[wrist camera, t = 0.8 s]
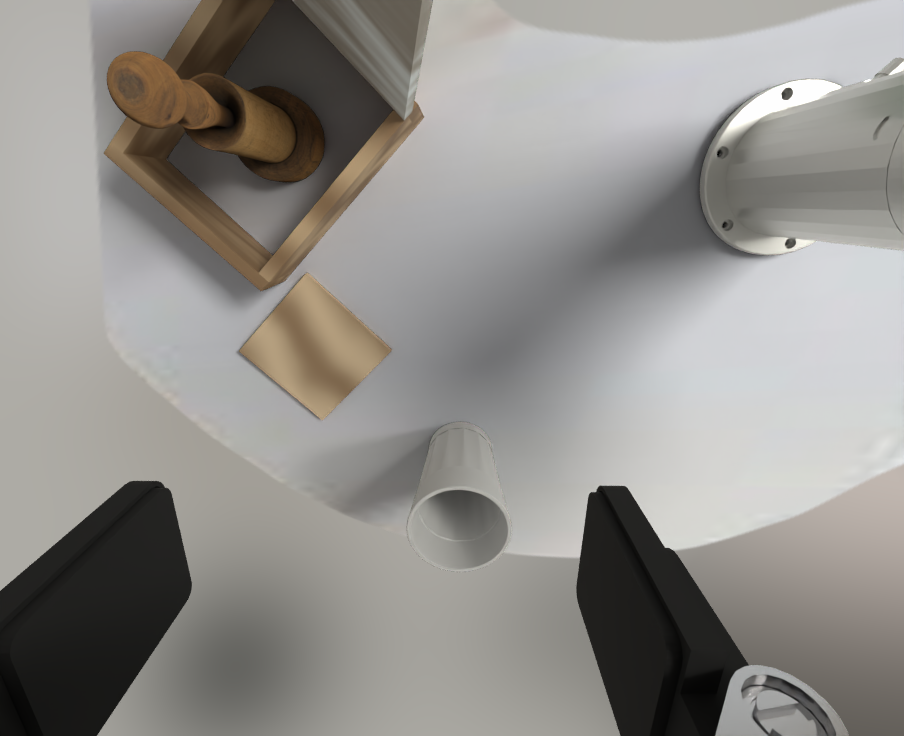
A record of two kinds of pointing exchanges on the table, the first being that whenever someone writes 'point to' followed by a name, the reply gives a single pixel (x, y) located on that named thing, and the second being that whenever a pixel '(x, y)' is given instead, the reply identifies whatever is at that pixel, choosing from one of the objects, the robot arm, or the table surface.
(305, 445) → the table surface
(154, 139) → the cold frame
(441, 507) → the cup
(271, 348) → the cork mat
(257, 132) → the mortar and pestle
